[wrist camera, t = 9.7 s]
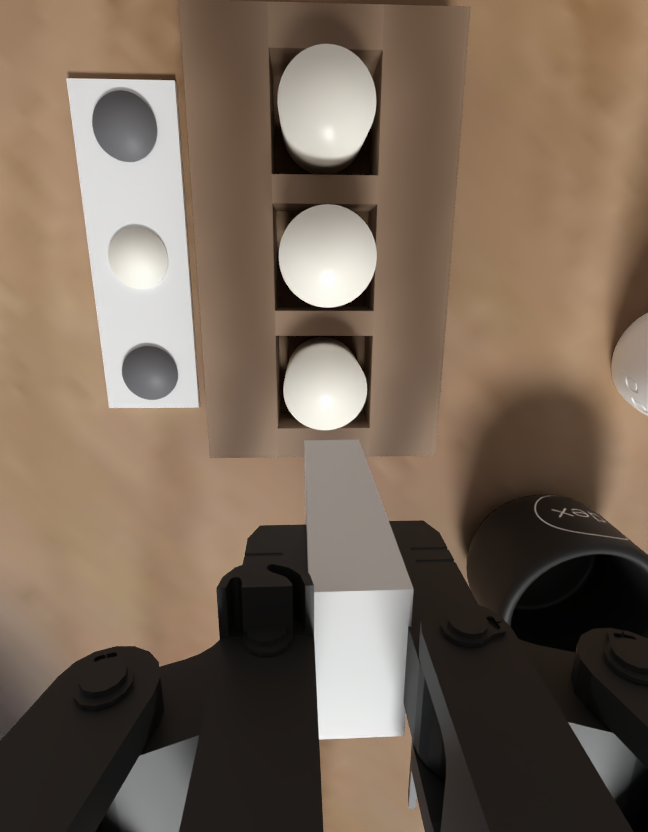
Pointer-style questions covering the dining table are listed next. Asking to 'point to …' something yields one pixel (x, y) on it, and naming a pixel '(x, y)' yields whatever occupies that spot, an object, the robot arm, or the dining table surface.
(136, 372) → the card
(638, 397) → the figurine
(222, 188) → the board
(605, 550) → the mug
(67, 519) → the dining table surface
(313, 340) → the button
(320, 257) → the button middle
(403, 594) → the robot arm
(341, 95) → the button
